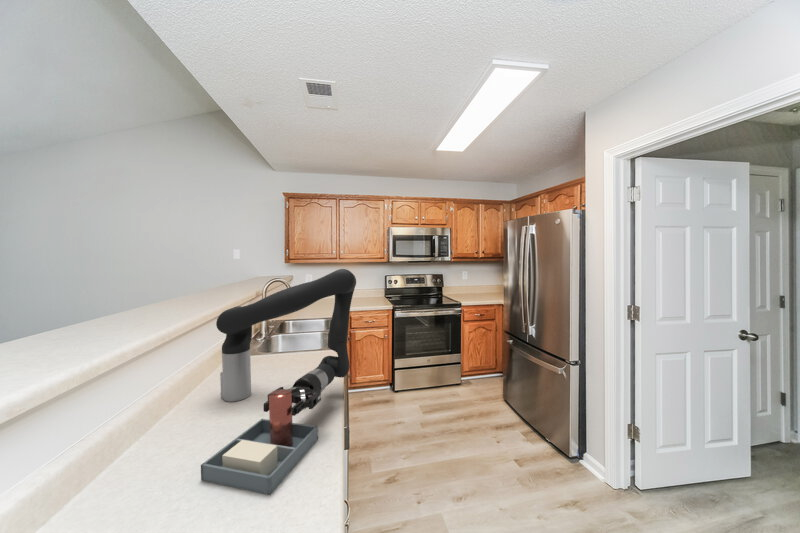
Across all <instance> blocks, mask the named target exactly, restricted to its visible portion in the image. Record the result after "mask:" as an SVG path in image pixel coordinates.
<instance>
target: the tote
mask: <svg viewBox="0 0 800 533" xmlns="http://www.w3.org/2000/svg"><path fill="white" fill-rule="evenodd" d="M292 430H293V445H292V446H291V447H287V446H281V445H277V458H278V466H277V467H276V468H275V469H274V470H273V472H272V473H271V474H270V475H269V476H267V475H262V474H257V473H251V472H246V471H241V470H236V469H230V468H225V467H223V459H222V455H224V454H225V453H226V452H227V451H229V450H230V449H231V448H233V447H234V446H235V445H236V444H238V443H239V442H240V441H241V440H246V441H252V442H258V443H264V444H270V419H267V418H261V419H259V420H258V421H256V422H255V423H254V424H253V425H252V426H249V428H247V429H246V430H244V432H242V433H241V434H240V435H238V436H237V437H236V438H234V439H233V440H232V441H230V442H229V443H227V444H226V445H225V446H224V447H223V448H221V449H220V450H218V451H217V452H216V453H215V454H213V455H212V456H210V457H209V458H208V459H207V460H205V461H204V462H203V463H201V464H200V480H201V481H202V482H207V483H212V484H216V485H221V486H226V487H232V488H235V489H241V490H244V491H245V490H246V491H250V492H254V493H260V494H265V495H269V496H270V495H272V493H274V491H275V490H276V488H277V487H278V486H279V485H280V484H281V483H282V481H283V480H284V479H285V478H286V477H287V476H288V475H289V473H290V472H291V471H292V470H293V468H295V467H296V465H297V464H298V463H299V462H300V461H301V459H302V458H304V456H305V455H306V454H307V452H309V450H310V449H311V448H312V447H313V446H314V445H315V443H316V442H317V441H318V440H319V427H318V425H317V426H316V425H309V424H303V423H302V424H301V423H295V422H292ZM271 445H275V444H271Z"/></svg>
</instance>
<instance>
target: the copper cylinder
mask: <svg viewBox="0 0 800 533" xmlns="http://www.w3.org/2000/svg"><path fill="white" fill-rule="evenodd" d="M288 389H289V388H283V389H281V390H276V389H275V390H276V391H275V390H273V391H274V392H273V391H271V392H272V393H271V392H270V393H269V394H270V395H269V417H268V418H269V420H270V444H275V445H281V446H287V447H291V446H292V445H293V430H292V423H293V415H292V407H293V403H292V391H291V390H288Z"/></svg>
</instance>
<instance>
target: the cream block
mask: <svg viewBox="0 0 800 533" xmlns="http://www.w3.org/2000/svg"><path fill="white" fill-rule="evenodd" d="M222 459H223V467H225V468H230V469H236V470H241V471H246V472H251V473H257V474H262V475H267V476H269V475H270V474H271V473H272V472H273V470H274V469H275V468H276V467H277V466H278V458H277V445H271V444H264V443H258V442H252V441H246V440H241V441H240V442H239V443H238V444H236V445H235V446H234V447H233V448H231V449H230V450H229V451H227V452H226V453H225V454H224V455H222Z"/></svg>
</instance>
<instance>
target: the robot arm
mask: <svg viewBox="0 0 800 533" xmlns="http://www.w3.org/2000/svg"><path fill="white" fill-rule="evenodd" d="M356 286H357V278H356V276H355V275H354V274H353V272H352V271H350V270H348V269H346V268H339V269H337V270H334V271H332V272H329V273H328V274H325V275H323V276H322V277H320V278H317V279H314V280H312V281H308V282H305V283H300V284H296V285H294V286H291V287H287V288H284V289H281V290H280V291H277V292H275V293H273V294H269V295H268V296H266V297H263V298H261V299H259V300H257V301H256V302H253V303H250V304H246V305H244V306H233V307H231V308H228V309H226V310H224V311H222V312H221V313H220V314H219V316H218V317H217V319H216V324H215V326H216V328H217V331H218V332H221V333H222V334H225V335H226V336H225V339H224V341H223V343H222V345H221V361H222V362H221V363H222V371H221V372H220V374H219V376H220V378H219V380H220V398H221V400H223V401H225V402H231V403H233V402H239V401H242V400H245V399H247V398H249V397H250V396H251V395H252V369H251V367H252V366H251V365H252V364H251V362H252V361H251V342H252V338H253V326H254V325H256V324H259V323H262V322H265V321H270V320H274V319H278V318H281V317H284V316H287V315H290V314H293V313H295V312H299V311H301V310H303V309H305V308H307V307H309V306H311V305H312V304H315V303H316V302H317V301H320V300H322V299H325V298H328V297H332V296H334V305H333V310H332V316H331V319H330V324H329V328H328V329H329V330H328V340H327V348H328V349H329V350H331V351H334V352H335V353H336V354H337V356H334V355H327V356H324V357H323V358H322V360H321V361H320V362H319V363H318V366H317V367H315V368H314V369H313V370H310V371H308V372H306V373H305V374H304V375H302V376H300V378H298V379H297V380H296V381H295V382H294V383H293V385H292V387H290V388H287V389H288V390H291V391H292V404H294V405H292V417H294V416H296V415H298V414H299V413H301V412H302V411H304V410H306V409H309V410H312V409H314V408H315V407H316V406H317V405H318V404H319V403H320V401H322V392H323V391H324V390H325V388H327V387H328V386H329V385H330V384H331V383H332V382H333V381H334V379H335V378H341V379H343V378H346V376H347V375H348V374H349V372H350V368H351V366H350V365H351V364H350V359H349V358H350V357H349V352H348V351H349V350H348V336H349V324H350V314H351V312H350V311H351V304H352V299H353V296H354V292H355V288H356ZM281 389H284V386H280V387H278V388H277V389H275V390H273V391H271V392H270V393H272V392H274V391H276V390H281ZM270 393H268V394H267V401H266V402H264V403H263V412H265V413H267V412H268V411H269V395H270Z"/></svg>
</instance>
